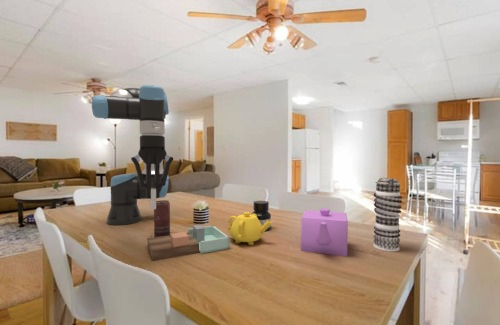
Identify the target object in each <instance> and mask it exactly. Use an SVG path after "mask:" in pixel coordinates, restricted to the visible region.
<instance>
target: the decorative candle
mask: <svg viewBox="0 0 500 325" xmlns="http://www.w3.org/2000/svg"><path fill="white" fill-rule="evenodd" d="M375 183H376V187H375V188H376V189H375V192H374V193H373V196H374V197H375V198H374V199H373V202H374V203H373V206H374V208H373V211H374V215H375V221H374V227H373V229H374V231H373V233H374V235H373V247H374V248H375V249H378V250H381V251H383V252H398V251H400V246H401V243H400V241H401V239H400V237H401V234H400V233H401V229H400V218H401V215H400V214H401V213H402V210H401V209H402V206H401V205H400V204H402V203H403V201H402V200H401V199H403V196H402V195H401V191H400V190H401V189H400V188H401V184H402V183H401V182H399V181H398V179H396V178H391V177H381V178H378V180H377V181H375Z"/></svg>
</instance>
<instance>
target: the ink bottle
mask: <svg viewBox="0 0 500 325" xmlns="http://www.w3.org/2000/svg"><path fill="white" fill-rule="evenodd" d="M269 204H270V202H269V201H266V200H254V201H253V212H252V213H250V215H252V214H253V213H254V214H257V218H258V220H259V221H260V223H261V225H262V226H263V225H264V224H265V223H266V221H267V220H270V221H271V222H272V214H271V213H270V212H269V210H270V209H269V208H270V206H269ZM271 226H272V224H271V225H270V226H269V227H268V228H267V229H266V230H265V231H269V230H271V228H272V227H271Z"/></svg>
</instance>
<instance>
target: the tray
mask: <svg viewBox="0 0 500 325" xmlns="http://www.w3.org/2000/svg"><path fill="white" fill-rule="evenodd" d="M203 227H204V234H205V241H200V242H198V243H199V252H198V253H200V254H201V255H202V254H207V253H213V252H218V251H225V250H228V249H230V248H231V247H230V245H231V244H230V240H231V239H230V236H229V235H227V234H226V233H224V232H223V231H222V230H220V229H219V228H218V227H216V226H215V225H207V226H203ZM187 230H188V231H187V233H190V234H191V235H192V237H193V227H191V228H188V229H187Z"/></svg>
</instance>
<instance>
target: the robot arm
mask: <svg viewBox="0 0 500 325" xmlns="http://www.w3.org/2000/svg"><path fill="white" fill-rule="evenodd" d="M91 111H92V115H93V116H94V117H95V118H97V119H103V120H104V119H105V120H107V119H108V120H109V119H111V120H112V119H113V120H130V121H132V120H133V121H139V134H140V136H139V150H138V153H137V154H136V155H134V156H132V157H130V160H131V162H132V164H134V166H135V171H136V172H130V173H129V172H128V173H124V174H118V175H114V176H112V177H111V178H110V186H109V187H110V209H109V212H108V214H107V218H106V223H107V224H108V225H111V226H112V225H114V226H123V225H125V226H126V225H130V224H135V223H138V222H140V221H142V215H141V212H140V209H139V207H138V206H139V205H138V200H149V209H150V210H154V209H156V201H157V199H160V198H161V199H163V198H166V196H167V193H168V190H169V181H170V180H169V179H170V178H169V177H170V176H169V172H170V167H171V164H172V162H173V161H174V157H172V156H170V155H168V154H167V151H166V147H165V146H166V140H165V139H166V138H165V136H164V135H165V132H166V131H165V130H166V129H165V119H167V118H166V117H167V116H168V115H169V113H170V112H169V103H168V96H167V93H166V92H165V89H164V88H163V87H161V86H158V85H153V84H152V85H151V84H147V85H145V84H144V85H141V86H140V87H138V88H137V87H126V88H121V89H117V90H115V91H114V90H113V92H112V93H111V94H110V95H103V94H102V95H98V94H95V95H93V96H92V98H91ZM140 158H141V159H140ZM140 160H141V161H143V162H144V169H143V170H142V169H141V165H140V163H139V162H140ZM163 160H164V161H165V164H163V162H164V161H163ZM163 165H164V167H163Z"/></svg>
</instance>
